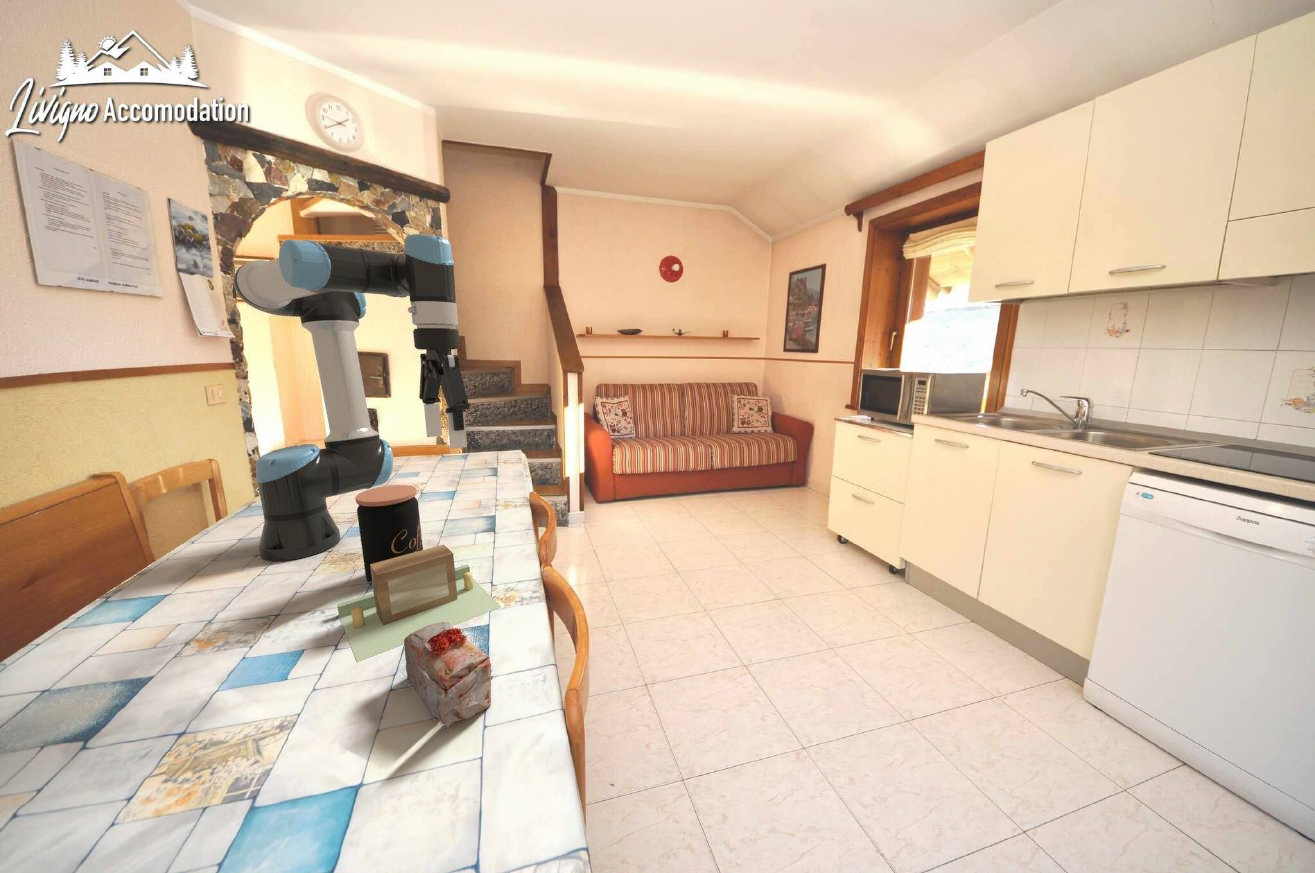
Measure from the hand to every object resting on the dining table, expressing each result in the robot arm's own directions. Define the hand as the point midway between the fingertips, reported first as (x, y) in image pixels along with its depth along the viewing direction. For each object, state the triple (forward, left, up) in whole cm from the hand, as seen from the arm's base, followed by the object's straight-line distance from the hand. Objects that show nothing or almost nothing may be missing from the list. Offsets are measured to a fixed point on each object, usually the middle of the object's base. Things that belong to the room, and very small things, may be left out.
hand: (446, 441), depth 90 cm
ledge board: (+9, -10, -29) cm, 32 cm away
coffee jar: (-10, -9, -29) cm, 32 cm away
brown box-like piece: (+7, -10, -27) cm, 30 cm away
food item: (+32, -12, -29) cm, 45 cm away
